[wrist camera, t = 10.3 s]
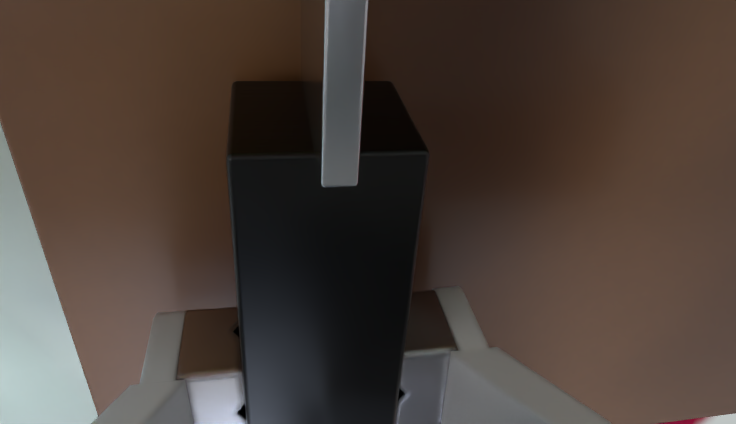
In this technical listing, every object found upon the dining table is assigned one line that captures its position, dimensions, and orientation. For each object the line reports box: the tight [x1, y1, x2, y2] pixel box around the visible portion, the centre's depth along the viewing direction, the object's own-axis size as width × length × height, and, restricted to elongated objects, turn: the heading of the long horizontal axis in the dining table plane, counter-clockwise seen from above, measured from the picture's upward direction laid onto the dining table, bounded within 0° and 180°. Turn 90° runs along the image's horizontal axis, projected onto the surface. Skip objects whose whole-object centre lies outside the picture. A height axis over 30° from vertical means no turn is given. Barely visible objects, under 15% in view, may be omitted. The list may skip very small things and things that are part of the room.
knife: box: [226, 0, 430, 424], centre depth 8 cm, size 2×17×3 cm, turn 177°
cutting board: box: [0, 0, 736, 424], centre depth 11 cm, size 16×18×1 cm
